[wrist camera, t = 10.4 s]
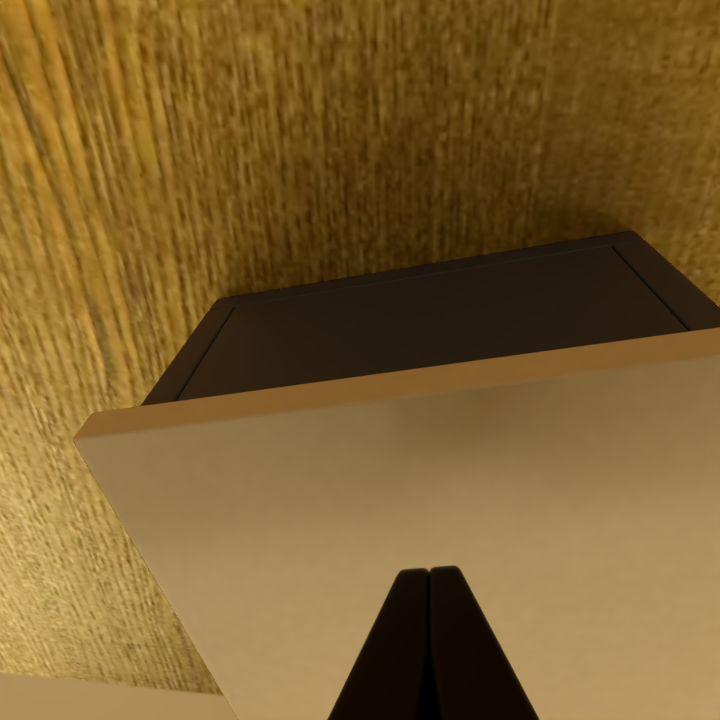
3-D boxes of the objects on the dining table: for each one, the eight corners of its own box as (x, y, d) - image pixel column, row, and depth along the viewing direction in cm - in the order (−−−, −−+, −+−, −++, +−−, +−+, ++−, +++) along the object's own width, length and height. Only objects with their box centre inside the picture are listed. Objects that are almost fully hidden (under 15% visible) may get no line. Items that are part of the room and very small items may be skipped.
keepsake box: (216, 298, 17) (123, 427, 11) (634, 229, 15) (762, 343, 9) (329, 619, 24) (304, 794, 18) (624, 599, 22) (695, 788, 16)
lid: (91, 411, 10) (69, 439, 10) (790, 315, 9) (823, 343, 8) (304, 796, 18) (300, 826, 18) (696, 790, 16) (708, 825, 16)
